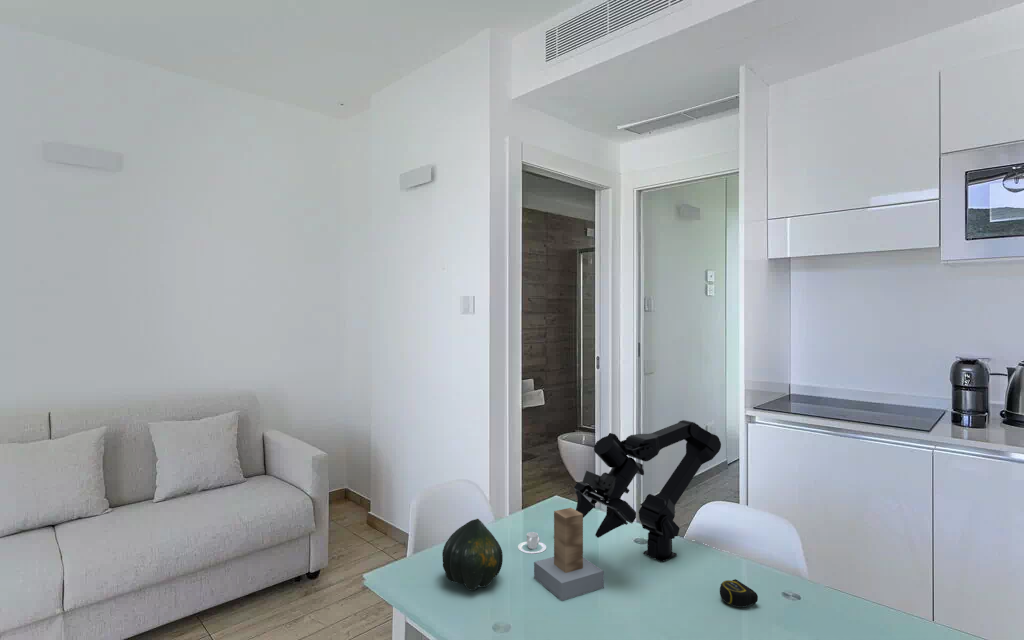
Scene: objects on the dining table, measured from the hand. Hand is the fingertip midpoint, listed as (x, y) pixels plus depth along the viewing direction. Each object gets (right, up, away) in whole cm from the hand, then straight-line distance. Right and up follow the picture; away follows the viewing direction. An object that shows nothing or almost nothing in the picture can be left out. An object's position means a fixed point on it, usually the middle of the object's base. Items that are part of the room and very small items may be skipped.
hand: (584, 529), depth 131 cm
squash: (-28, -12, -1) cm, 30 cm away
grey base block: (-4, -12, -2) cm, 13 cm away
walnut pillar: (-4, -8, -2) cm, 9 cm away
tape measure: (+33, -12, -10) cm, 37 cm away
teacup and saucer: (-9, -12, +18) cm, 24 cm away
